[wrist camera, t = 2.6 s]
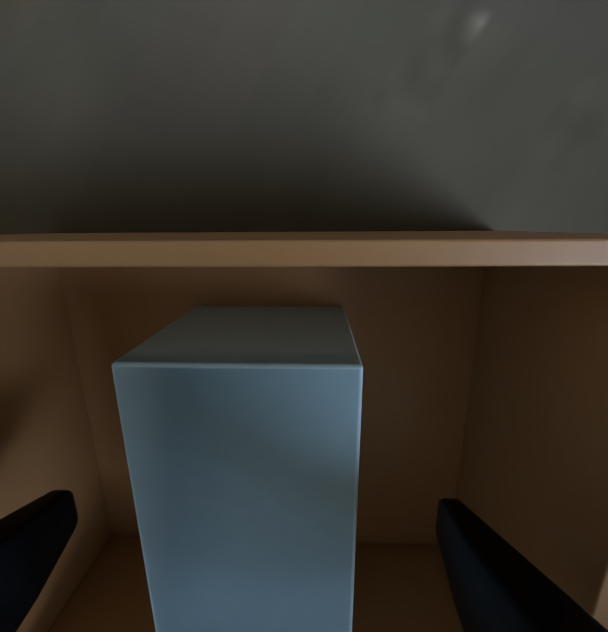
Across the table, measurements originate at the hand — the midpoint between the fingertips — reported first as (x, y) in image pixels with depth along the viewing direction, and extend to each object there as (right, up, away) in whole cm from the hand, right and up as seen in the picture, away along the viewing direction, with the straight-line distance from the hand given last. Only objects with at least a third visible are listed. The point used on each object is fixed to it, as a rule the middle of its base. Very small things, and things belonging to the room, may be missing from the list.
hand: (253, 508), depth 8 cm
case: (0, +1, +4) cm, 4 cm away
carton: (0, +1, +5) cm, 5 cm away
